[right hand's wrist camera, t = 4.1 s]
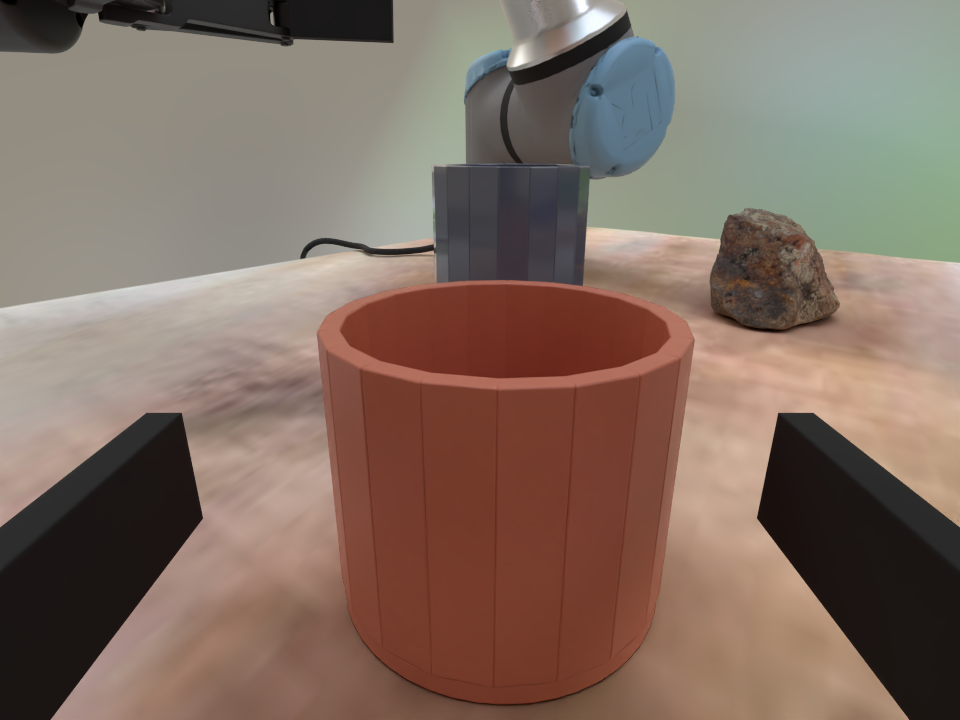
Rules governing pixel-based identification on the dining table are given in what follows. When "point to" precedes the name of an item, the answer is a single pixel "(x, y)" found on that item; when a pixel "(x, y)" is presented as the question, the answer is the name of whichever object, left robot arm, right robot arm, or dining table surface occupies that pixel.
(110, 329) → the dining table surface
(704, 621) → the dining table surface
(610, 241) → the dining table surface
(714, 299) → the rock
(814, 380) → the dining table surface
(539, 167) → the beaker
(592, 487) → the pot
